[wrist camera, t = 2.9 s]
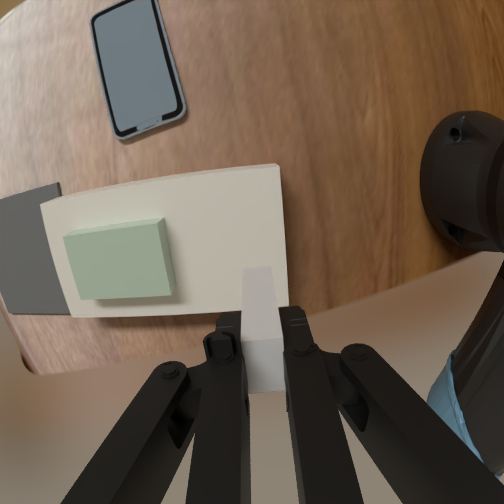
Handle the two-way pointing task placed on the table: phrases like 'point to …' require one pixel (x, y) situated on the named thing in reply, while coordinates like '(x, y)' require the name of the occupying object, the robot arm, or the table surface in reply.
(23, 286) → the mat
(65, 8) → the table surface
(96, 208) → the board
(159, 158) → the table surface
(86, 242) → the tile
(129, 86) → the smartphone
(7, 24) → the table surface
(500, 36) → the table surface
